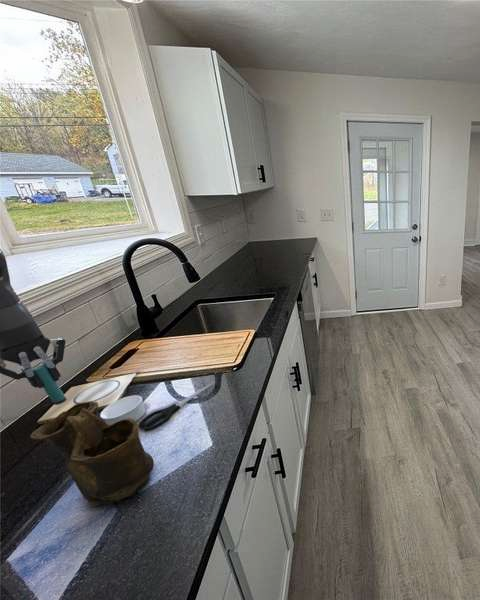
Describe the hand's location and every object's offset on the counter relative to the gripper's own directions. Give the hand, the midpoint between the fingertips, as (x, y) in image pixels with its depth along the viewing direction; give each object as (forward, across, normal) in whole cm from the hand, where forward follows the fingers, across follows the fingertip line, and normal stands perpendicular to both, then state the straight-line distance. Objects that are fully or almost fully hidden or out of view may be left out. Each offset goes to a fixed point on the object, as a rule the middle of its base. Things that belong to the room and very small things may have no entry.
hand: (48, 383), depth 80 cm
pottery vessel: (+14, +4, +36) cm, 38 cm away
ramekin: (+14, -7, +13) cm, 20 cm away
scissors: (+14, -16, +22) cm, 31 cm away
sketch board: (+14, -8, -9) cm, 18 cm away
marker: (+6, 0, 0) cm, 6 cm away
